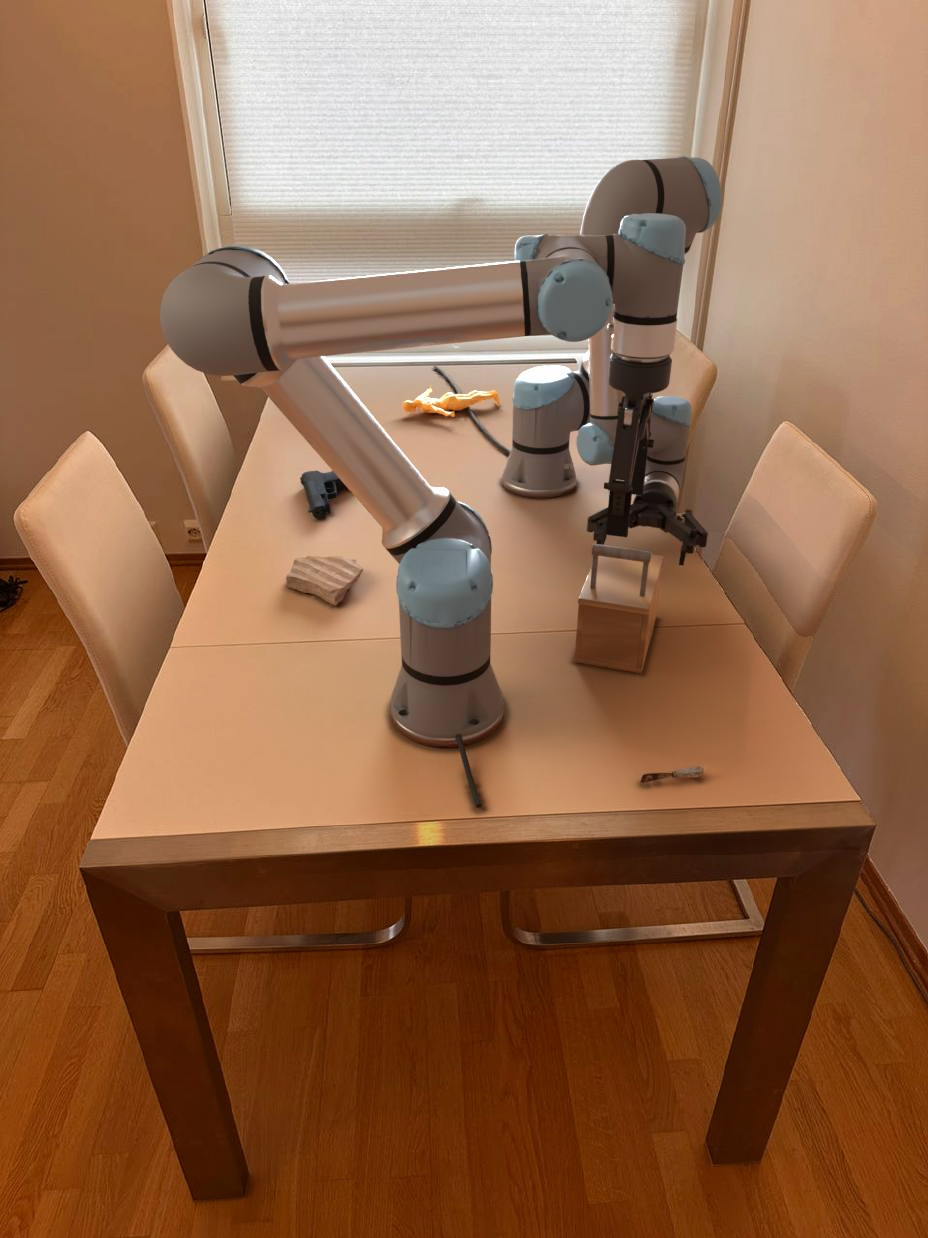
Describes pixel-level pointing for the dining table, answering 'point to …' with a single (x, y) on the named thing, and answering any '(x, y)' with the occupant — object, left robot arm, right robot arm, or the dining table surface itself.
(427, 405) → the human figure
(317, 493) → the handgun
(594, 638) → the chest
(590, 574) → the lid
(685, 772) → the putty knife
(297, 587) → the stone
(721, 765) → the dining table surface
